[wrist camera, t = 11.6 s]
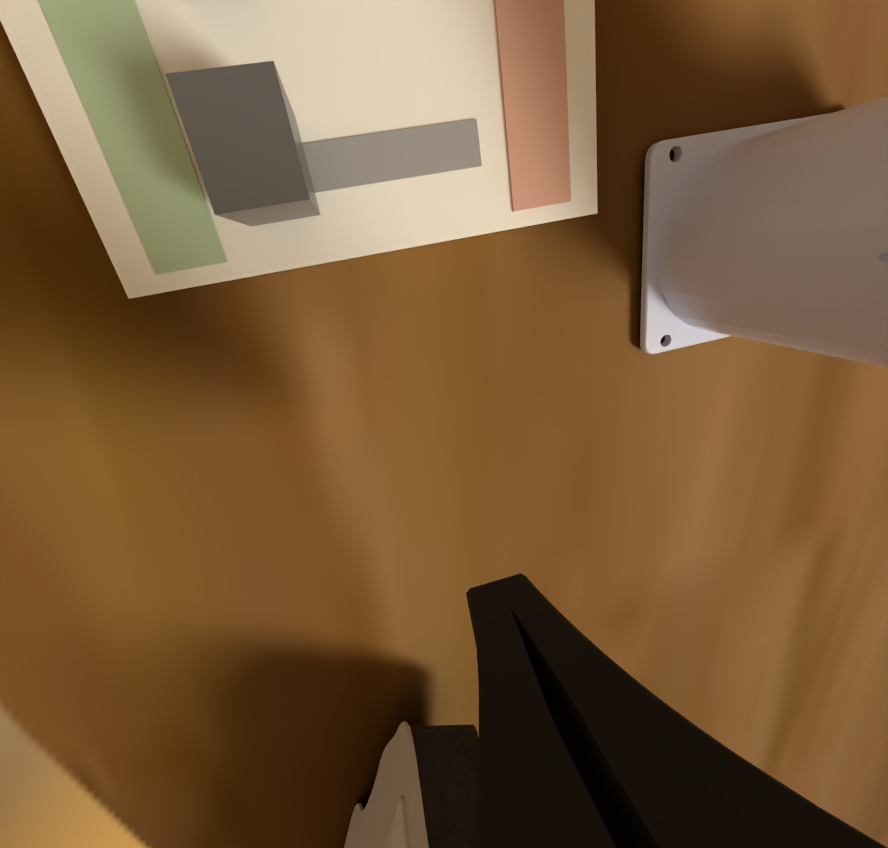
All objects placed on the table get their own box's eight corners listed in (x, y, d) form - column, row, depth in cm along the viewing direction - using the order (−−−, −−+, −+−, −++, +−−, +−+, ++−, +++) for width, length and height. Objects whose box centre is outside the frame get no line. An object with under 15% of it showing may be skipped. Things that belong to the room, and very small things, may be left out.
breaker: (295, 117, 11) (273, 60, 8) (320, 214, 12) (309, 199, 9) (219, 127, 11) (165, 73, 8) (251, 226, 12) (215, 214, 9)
